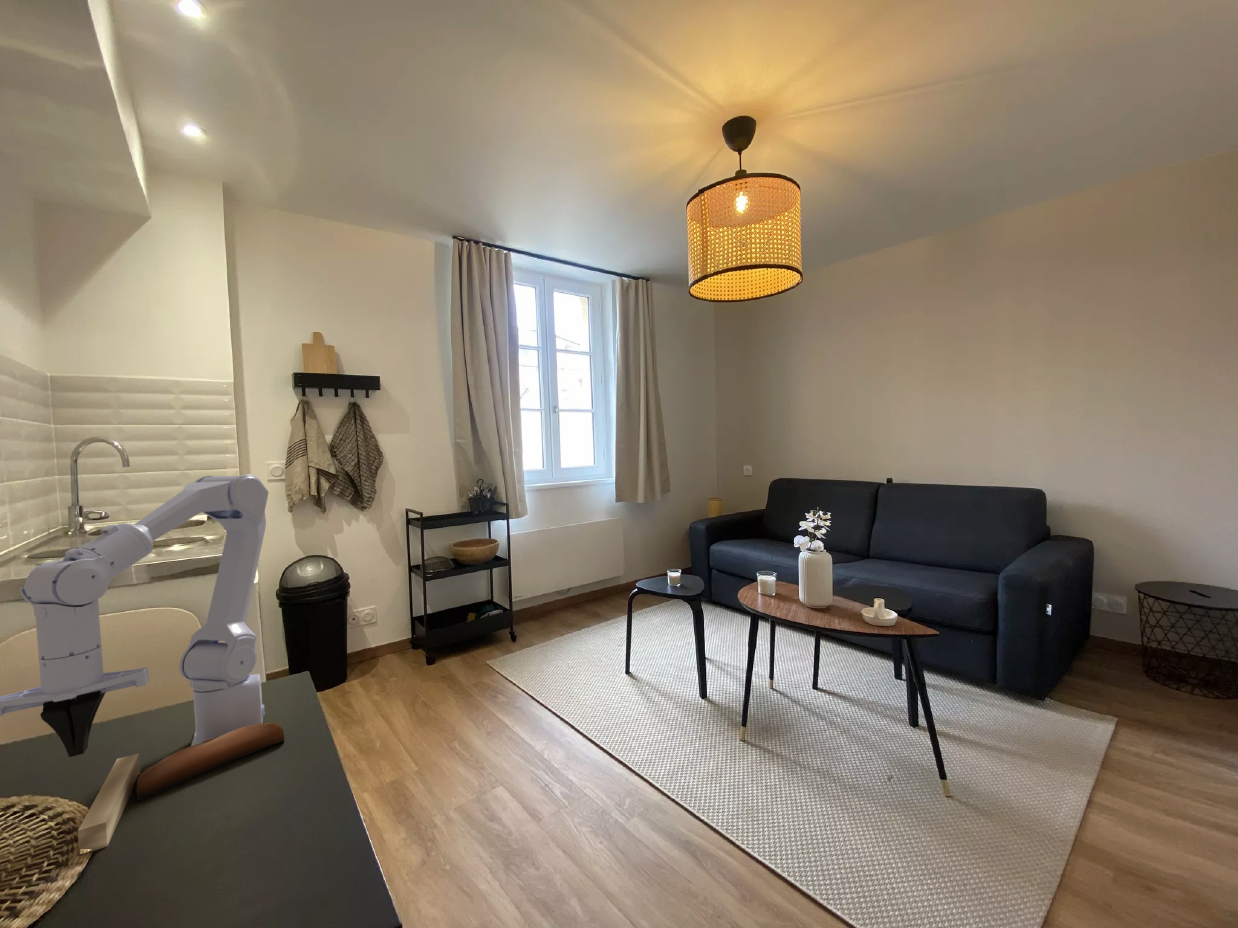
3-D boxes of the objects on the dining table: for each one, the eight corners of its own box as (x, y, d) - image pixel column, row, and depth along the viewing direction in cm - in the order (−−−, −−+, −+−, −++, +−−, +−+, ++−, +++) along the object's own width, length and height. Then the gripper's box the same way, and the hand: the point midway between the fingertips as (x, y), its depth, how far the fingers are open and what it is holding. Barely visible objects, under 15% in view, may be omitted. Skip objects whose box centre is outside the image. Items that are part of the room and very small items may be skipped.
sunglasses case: (267, 726, 90) (272, 699, 88) (281, 759, 86) (287, 731, 84) (126, 781, 76) (127, 750, 74) (135, 822, 73) (137, 791, 70)
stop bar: (140, 772, 78) (138, 752, 78) (107, 845, 63) (105, 821, 63) (118, 778, 77) (117, 758, 77) (79, 855, 62) (78, 830, 62)
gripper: (-27, 676, 61) (-19, 789, 62) (138, 646, 69) (144, 746, 70) (-1, 657, 67) (7, 760, 68) (148, 632, 75) (155, 724, 76)
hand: (78, 752), depth 69 cm, fingers closed
